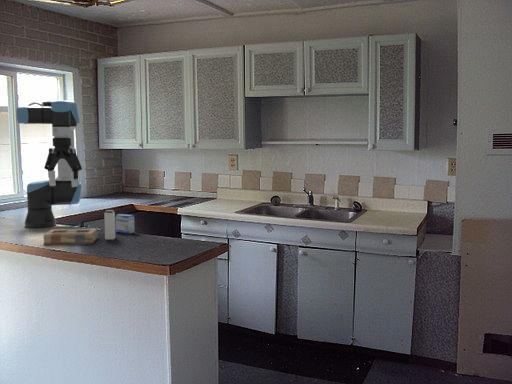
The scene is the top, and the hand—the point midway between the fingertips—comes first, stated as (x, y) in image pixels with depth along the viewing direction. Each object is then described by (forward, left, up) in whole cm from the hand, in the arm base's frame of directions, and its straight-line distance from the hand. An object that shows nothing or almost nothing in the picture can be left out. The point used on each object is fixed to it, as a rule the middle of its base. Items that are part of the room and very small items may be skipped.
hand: (63, 186), depth 230 cm
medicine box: (-21, +23, -25) cm, 40 cm away
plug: (-6, +18, -25) cm, 31 cm away
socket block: (-1, +2, -25) cm, 25 cm away
